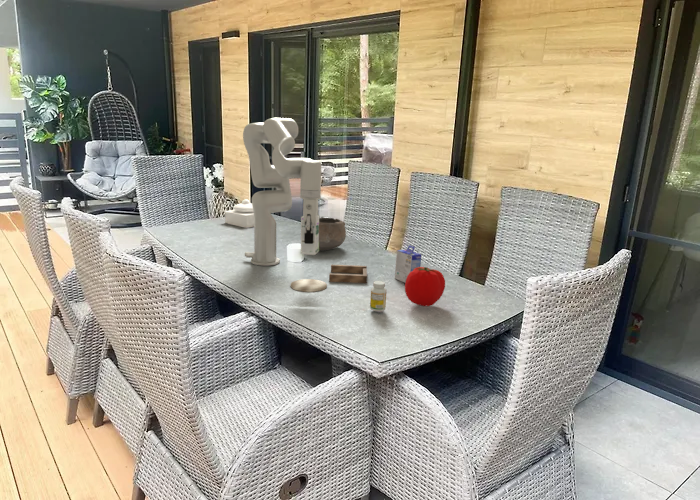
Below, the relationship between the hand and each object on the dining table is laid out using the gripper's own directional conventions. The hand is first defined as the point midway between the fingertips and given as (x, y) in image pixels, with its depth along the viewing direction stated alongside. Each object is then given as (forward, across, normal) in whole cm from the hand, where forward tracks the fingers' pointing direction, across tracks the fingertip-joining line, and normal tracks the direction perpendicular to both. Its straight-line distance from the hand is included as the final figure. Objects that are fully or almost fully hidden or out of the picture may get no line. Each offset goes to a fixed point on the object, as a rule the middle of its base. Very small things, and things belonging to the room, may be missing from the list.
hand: (309, 240), depth 201 cm
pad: (+18, 0, 0) cm, 18 cm away
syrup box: (+5, 0, 0) cm, 5 cm away
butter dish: (+18, +106, +46) cm, 117 cm away
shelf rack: (+18, +14, -15) cm, 27 cm away
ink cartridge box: (+18, +12, -39) cm, 45 cm away
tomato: (+18, -14, -43) cm, 49 cm away
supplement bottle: (+18, -22, -26) cm, 39 cm away
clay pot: (+18, +58, -2) cm, 61 cm away
